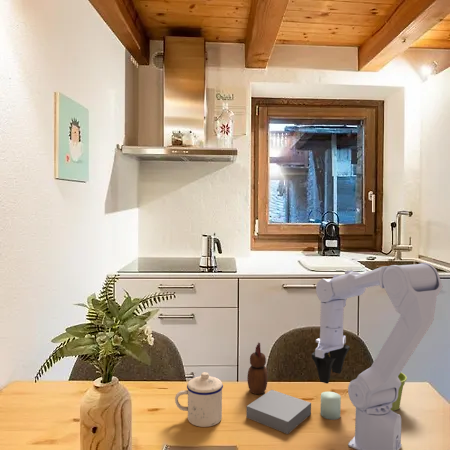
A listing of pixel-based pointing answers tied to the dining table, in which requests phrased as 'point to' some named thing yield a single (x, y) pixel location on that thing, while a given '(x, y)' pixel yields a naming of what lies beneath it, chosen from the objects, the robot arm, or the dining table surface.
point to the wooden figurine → (257, 372)
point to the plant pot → (399, 392)
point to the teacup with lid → (203, 400)
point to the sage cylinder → (330, 405)
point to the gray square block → (279, 411)
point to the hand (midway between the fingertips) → (330, 377)
